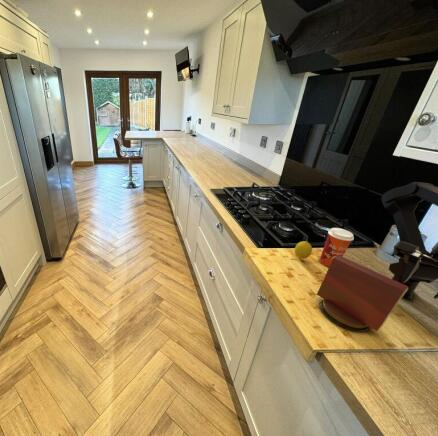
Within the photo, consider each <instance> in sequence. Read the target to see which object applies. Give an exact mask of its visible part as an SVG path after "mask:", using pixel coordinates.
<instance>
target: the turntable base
mask: <svg viewBox="0 0 438 436" xmlns="http://www.w3.org/2000/svg"><path fill="white" fill-rule="evenodd" d="M323 300H324V299H322V300H321V302H320V304H319V308H320V311H321V312H322V314H323V315H324V316H325V317H326V318H327V319H328V320H329V321H330V322H332V323H333V324H335V325H336V326H338V327H340V328H342V329H345V330H347V331H351V332H356V333H364V332H367V331H368V330H369V329H370V327H369V326H368V327H366V328H362V329H359V328H353V327H349V326H347V325H344V324H342V323H340V322H338V321H337V320H335V319H334V318H332V317H331V316H330V315H329V314H328V313H327V312H326V311H325V310H324V308H323V304H322V303H323Z"/></svg>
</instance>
